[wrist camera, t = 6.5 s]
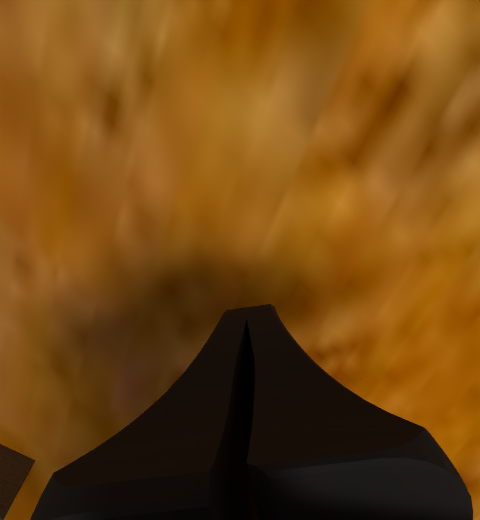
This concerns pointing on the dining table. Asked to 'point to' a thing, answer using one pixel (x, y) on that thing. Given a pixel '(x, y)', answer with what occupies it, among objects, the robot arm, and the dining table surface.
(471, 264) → the dining table surface
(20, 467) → the press housing
